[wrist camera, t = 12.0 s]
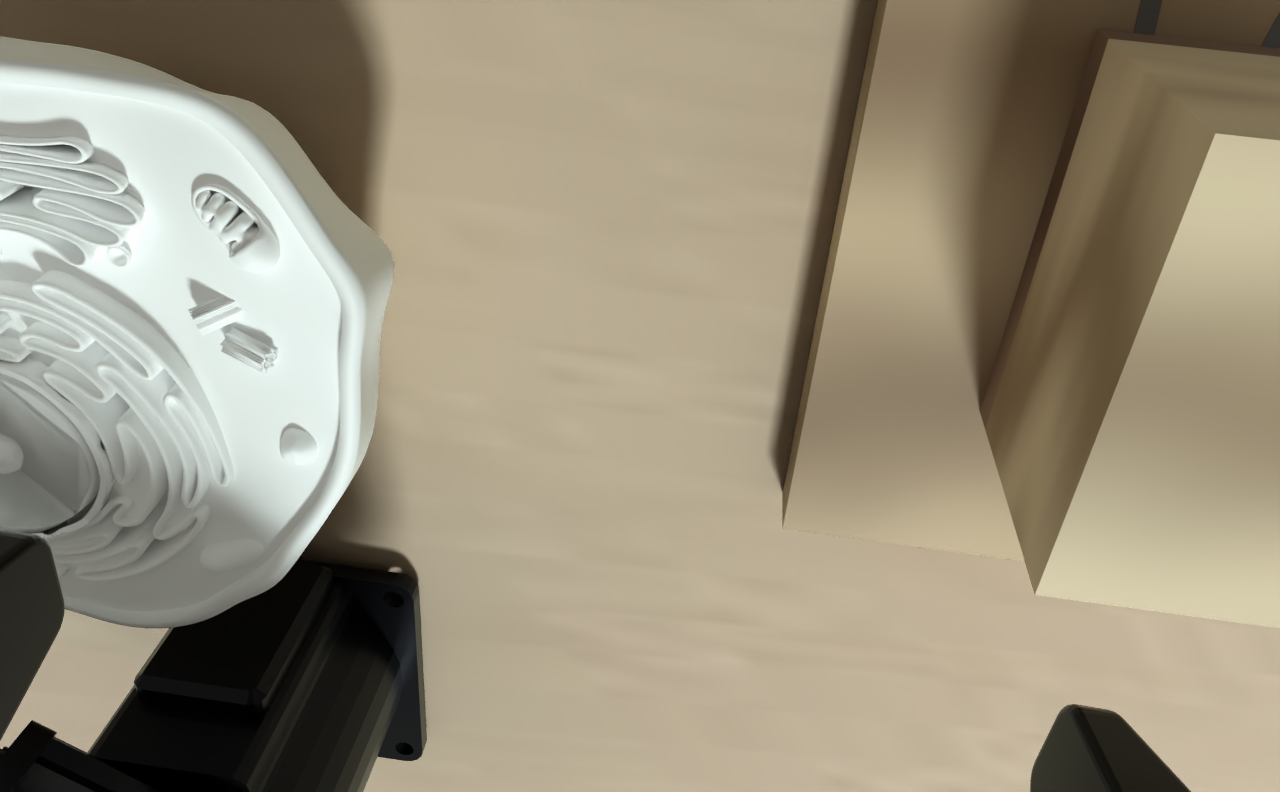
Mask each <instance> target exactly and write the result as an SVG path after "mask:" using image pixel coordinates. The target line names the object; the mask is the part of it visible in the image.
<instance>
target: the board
mask: <svg viewBox="0 0 1280 792" xmlns="http://www.w3.org/2000/svg"><path fill="white" fill-rule="evenodd" d="M1098 29H1101V30H1111V31H1120V32H1130V33H1139V34H1149V35H1158V36H1167V37H1177V38H1186V39H1196V40H1205V41H1215V42H1224V43H1234V44H1243V45H1253V46H1262V47H1271V48H1280V0H878V2H877V7H876V12H875V17H874V22H873V28H872V33H871V38H870V43H869V48H868V54H867V59H866V64H865V69H864V74H863V79H862V85H861V90H860V95H859V100H858V105H857V111H856V116H855V121H854V126H853V131H852V136H851V142H850V147H849V152H848V157H847V162H846V168H845V173H844V178H843V183H842V188H841V193H840V199H839V204H838V209H837V214H836V219H835V225H834V230H833V235H832V240H831V245H830V250H829V256H828V261H827V266H826V271H825V276H824V281H823V287H822V292H821V297H820V302H819V307H818V313H817V318H816V323H815V328H814V333H813V338H812V344H811V349H810V354H809V359H808V364H807V370H806V375H805V380H804V385H803V390H802V395H801V401H800V406H799V411H798V416H797V421H796V427H795V432H794V437H793V442H792V447H791V452H790V458H789V463H788V468H787V473H786V478H785V484H784V489H783V529H787V530H795V531H802V532H810V533H817V534H824V535H832V536H839V537H847V538H854V539H862V540H869V541H876V542H884V543H891V544H899V545H906V546H914V547H921V548H928V549H936V550H943V551H951V552H958V553H966V554H973V555H980V556H988V557H995V558H1003V559H1010V560H1018V561H1025V560H1024V557H1023V554H1022V550H1021V547H1020V544H1019V540H1018V537H1017V534H1016V531H1015V527H1014V524H1013V521H1012V517H1011V514H1010V511H1009V507H1008V504H1007V501H1006V497H1005V494H1004V491H1003V487H1002V484H1001V481H1000V477H999V474H998V471H997V467H996V464H995V461H994V457H993V454H992V451H991V447H990V444H989V441H988V437H987V434H986V431H985V427H984V424H983V421H982V417H981V414H980V408H981V405H982V402H983V398H984V395H985V392H986V389H987V385H988V382H989V379H990V376H991V373H992V369H993V366H994V363H995V360H996V356H997V353H998V350H999V347H1000V344H1001V340H1002V337H1003V334H1004V331H1005V327H1006V324H1007V321H1008V318H1009V315H1010V311H1011V308H1012V305H1013V302H1014V298H1015V295H1016V292H1017V289H1018V286H1019V282H1020V279H1021V276H1022V273H1023V269H1024V266H1025V263H1026V260H1027V256H1028V253H1029V250H1030V247H1031V244H1032V240H1033V237H1034V234H1035V231H1036V227H1037V224H1038V221H1039V218H1040V215H1041V211H1042V208H1043V205H1044V202H1045V198H1046V195H1047V192H1048V189H1049V186H1050V182H1051V179H1052V176H1053V173H1054V169H1055V166H1056V163H1057V160H1058V157H1059V153H1060V150H1061V147H1062V144H1063V140H1064V137H1065V134H1066V131H1067V127H1068V124H1069V121H1070V118H1071V115H1072V111H1073V108H1074V105H1075V102H1076V98H1077V95H1078V92H1079V89H1080V86H1081V82H1082V79H1083V76H1084V73H1085V69H1086V66H1087V63H1088V60H1089V57H1090V53H1091V50H1092V47H1093V44H1094V40H1095V37H1096V34H1097V31H1098Z"/></svg>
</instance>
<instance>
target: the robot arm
mask: <svg viewBox="0 0 1280 792" xmlns="http://www.w3.org/2000/svg"><path fill="white" fill-rule="evenodd" d="M392 592H395V593H398V594H399V595H401V596H397V595H394V594H393V593H392ZM63 617H64V598H63V594H62V590H61V586H60V582H59V578H58V574H57V570H56V566H55V562H54V558H53V554H52V550H51V547H50V545H49V543H48V542H47V541H46V540H45V539H44V538H43V537H41V536H39V535H35V534H28V533H22V532H16V531H10V530H0V740H1V739H2V737H3V735H4V733H5V731H6V729H7V727H8V725H9V724H10V722H11V720H12V718H13V716H14V714H15V712H16V711H17V709H18V707H19V705H20V703H21V701H22V699H23V697H24V696H25V694H26V692H27V690H28V688H29V686H30V684H31V682H32V681H33V679H34V677H35V675H36V673H37V671H38V669H39V668H40V666H41V664H42V662H43V660H44V658H45V656H46V654H47V653H48V651H49V649H50V647H51V645H52V643H53V641H54V639H55V638H56V636H57V634H58V632H59V630H60V627H61V624H62V621H63ZM134 684H135V685H134V686H133V688H132V689H131V690H130V692H129V693H128V695H127V696H126V698H125V699H124V701H123V702H122V703H121V705H120V706H119V708H118V709H117V711H116V712H115V714H114V715H113V716H112V718H111V719H110V721H109V722H108V724H107V725H106V727H105V728H104V729H103V731H102V732H101V734H100V735H99V737H98V738H97V740H96V741H95V742H94V744H93V745H92V747H91V748H90V750H89V751H88V753H86V752H84V751H82V750H80V749H78V748H76V747H74V746H72V745H70V744H68V743H66V742H64V741H62V740H60V739H58V738H56V737H55V735H56V733H57V732H55V731H53V730H51V729H49V728H47V727H45V726H43V725H41V724H39V723H37V722H35V721H33V720H32V721H31V722H30V723H29V724H28V725H27V727H26V728H25V729H24V730H23V731H22V733H21V734H20V735H19V736H18V737H17V739H16V740H15V741H14V742H13V743H12V745H11V746H10V747H9V748H8V747H6V746H5V747H4V748H3V749H0V792H363V791H364V788H365V786H366V783H367V781H368V778H369V776H370V773H371V771H372V768H373V766H374V763H375V761H376V758H377V757H384V758H390V759H397V760H404V761H413V760H417V759H418V758H420V757H421V755H422V753H423V750H424V747H425V744H426V740H427V734H426V716H425V697H424V678H423V660H422V641H421V622H420V604H419V590H418V587H417V585H416V583H415V582H414V581H413V580H412V579H411V578H409V577H407V576H406V575H403V574H399V573H394V572H386V571H379V570H372V569H365V568H358V567H351V566H344V565H336V564H329V563H322V562H315V561H308V560H301V559H297V561H296V562H295V563H294V565H293V566H292V567H291V569H290V570H289V571H288V572H287V574H286V575H285V576H284V577H283V578H282V579H281V580H280V581H279V582H278V583H277V584H276V585H275V586H273V587H272V588H270V589H269V590H267V591H265V592H263V593H261V594H259V595H257V596H254V597H252V598H249V599H247V600H244V601H242V602H240V603H238V604H236V605H234V606H232V607H231V608H229V609H227V610H225V611H224V612H222V613H220V614H218V615H216V616H214V617H212V618H209V619H207V620H204V621H201V622H198V623H194V624H190V625H185V626H179V627H171V628H169V630H168V631H167V633H166V634H165V635H164V637H163V638H162V640H161V641H160V643H159V644H158V645H157V647H156V648H155V650H154V651H153V653H152V654H151V655H150V657H149V658H148V660H147V661H146V663H145V664H144V666H143V667H142V668H141V670H140V671H139V673H138V674H137V676H136V678H135V681H134ZM1030 791H1031V792H1191V791H1190V790H1189V789H1188V788H1187V787H1186V786H1185V784H1184V783H1183V782H1182V781H1181V780H1180V779H1179V778H1178V777H1177V776H1176V775H1175V774H1174V773H1173V772H1172V770H1171V769H1170V768H1169V767H1168V766H1167V765H1166V764H1165V763H1164V762H1163V761H1162V760H1161V759H1160V758H1159V756H1158V755H1157V754H1156V753H1155V752H1154V751H1153V750H1152V749H1151V748H1150V747H1149V746H1148V745H1147V744H1146V742H1145V741H1144V740H1143V739H1142V738H1141V737H1140V736H1139V735H1138V734H1137V733H1136V732H1135V731H1134V730H1133V728H1132V727H1131V726H1130V725H1129V724H1128V723H1127V722H1126V721H1125V720H1124V719H1123V718H1122V717H1121V716H1120V715H1118V714H1117V713H1115V712H1113V711H1110V710H1106V709H1100V708H1094V707H1088V706H1082V705H1076V704H1072V705H1067V706H1065V707H1064V708H1063V709H1062V710H1061V711H1060V713H1059V714H1058V716H1057V718H1056V720H1055V722H1054V724H1053V726H1052V728H1051V730H1050V732H1049V734H1048V736H1047V738H1046V740H1045V742H1044V744H1043V746H1042V748H1041V750H1040V752H1039V755H1038V757H1037V759H1036V761H1035V763H1034V766H1033V770H1032V774H1031V785H1030Z"/></svg>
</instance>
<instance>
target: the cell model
mask: <svg viewBox="0 0 1280 792" xmlns="http://www.w3.org/2000/svg"><path fill="white" fill-rule="evenodd" d="M393 278H394V262H393V258H392V255H391V252H390V249H389V248H388V247H387V246H386V244H385V243H384V242H383V241H382V239H381V238H380V237H379V236H378V234H376V233H375V232H374V231H373V230H372V229H371V228H370V227H369V226H367V225H366V224H365V223H364V222H363V221H362V220H361V219H360V218H358V217H357V216H356V215H355V214H354V213H353V212H352V211H351V210H350V209H349V208H348V207H347V206H346V205H345V204H344V203H343V202H342V201H341V200H340V199H339V198H338V197H337V196H336V194H335V193H334V192H333V191H332V189H331V188H330V187H329V186H328V184H327V183H326V182H325V180H324V179H323V178H322V176H321V175H320V173H319V172H318V171H317V169H316V168H315V167H314V165H313V164H312V162H311V161H310V160H309V158H308V157H307V155H306V154H305V152H304V151H303V150H302V148H301V147H300V146H299V144H298V143H297V142H296V140H295V139H294V137H293V136H292V135H291V134H290V133H289V132H288V130H287V129H286V128H285V127H284V126H283V124H281V123H280V122H279V121H278V120H277V119H276V118H275V117H274V116H273V115H272V114H271V113H269V112H268V111H266V110H264V109H263V108H261V107H260V106H258V105H256V104H255V103H253V102H250V101H247V100H244V99H241V98H237V97H234V96H229V95H222V94H217V93H213V92H210V91H207V90H204V89H201V88H199V87H196V86H194V85H192V84H189V83H187V82H185V81H183V80H180V79H178V78H176V77H174V76H172V75H169V74H167V73H165V72H163V71H160V70H158V69H155V68H153V67H150V66H148V65H145V64H142V63H139V62H136V61H133V60H130V59H127V58H123V57H119V56H116V55H111V54H108V53H104V52H100V51H96V50H91V49H86V48H81V47H75V46H69V45H62V44H53V43H44V42H36V41H28V40H22V39H16V38H10V37H3V36H0V530H10V531H16V532H22V533H28V534H35V535H39V536H41V537H43V538H44V539H45V540H46V541H47V542H48V543H49V545H50V547H51V550H52V554H53V558H54V562H55V566H56V570H57V574H58V578H59V582H60V586H61V590H62V594H63V598H64V609H66V610H70V611H73V612H77V613H80V614H83V615H87V616H90V617H93V618H96V619H100V620H103V621H107V622H111V623H115V624H119V625H124V626H131V627H140V628H171V627H179V626H185V625H190V624H194V623H198V622H201V621H204V620H207V619H209V618H212V617H214V616H216V615H218V614H220V613H222V612H224V611H225V610H227V609H229V608H231V607H232V606H234V605H236V604H238V603H240V602H242V601H244V600H247V599H249V598H252V597H254V596H257V595H259V594H261V593H263V592H265V591H267V590H269V589H270V588H272V587H273V586H275V585H276V584H277V583H278V582H279V581H280V580H281V579H282V578H283V577H284V576H285V575H286V574H287V572H288V571H289V570H290V569H291V567H292V566H293V565H294V563H295V562H296V561H297V559H298V558H299V557H300V555H301V554H302V552H303V551H304V550H305V548H306V547H307V546H308V544H309V543H310V542H311V540H312V539H313V537H314V536H315V535H316V533H317V532H318V531H319V529H320V528H321V526H322V525H323V524H324V522H325V521H326V519H327V518H328V516H329V514H330V513H331V511H332V510H333V508H334V507H335V505H336V504H337V502H338V501H339V499H340V498H341V496H342V495H343V493H344V492H345V490H346V489H347V487H348V485H349V484H350V482H351V480H352V479H353V477H354V475H355V474H356V472H357V470H358V469H359V467H360V465H361V463H362V461H363V459H364V457H365V454H366V452H367V449H368V446H369V443H370V440H371V437H372V434H373V429H374V425H375V418H376V411H377V403H378V388H379V369H380V345H381V332H382V325H383V318H384V312H385V308H386V304H387V300H388V297H389V294H390V291H391V287H392V283H393Z"/></svg>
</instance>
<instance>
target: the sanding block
mask: <svg viewBox="0 0 1280 792" xmlns="http://www.w3.org/2000/svg"><path fill="white" fill-rule="evenodd" d="M980 414H981V417H982V421H983V424H984V427H985V431H986V434H987V437H988V441H989V444H990V447H991V451H992V454H993V457H994V461H995V464H996V467H997V471H998V474H999V477H1000V481H1001V484H1002V487H1003V491H1004V494H1005V497H1006V501H1007V504H1008V507H1009V511H1010V514H1011V517H1012V521H1013V524H1014V527H1015V531H1016V534H1017V537H1018V540H1019V544H1020V547H1021V550H1022V554H1023V557H1024V560H1025V564H1026V567H1027V570H1028V574H1029V577H1030V580H1031V584H1032V587H1033V590H1034V594H1035V595H1039V596H1046V597H1054V598H1061V599H1068V600H1076V601H1083V602H1090V603H1098V604H1105V605H1112V606H1120V607H1127V608H1134V609H1142V610H1149V611H1156V612H1164V613H1171V614H1178V615H1186V616H1193V617H1201V618H1208V619H1215V620H1223V621H1230V622H1237V623H1245V624H1252V625H1259V626H1267V627H1274V628H1280V48H1271V47H1262V46H1253V45H1243V44H1234V43H1224V42H1215V41H1205V40H1196V39H1186V38H1177V37H1167V36H1158V35H1149V34H1139V33H1130V32H1120V31H1111V30H1101V29H1098V31H1097V34H1096V37H1095V40H1094V44H1093V47H1092V50H1091V53H1090V57H1089V60H1088V63H1087V66H1086V69H1085V73H1084V76H1083V79H1082V82H1081V86H1080V89H1079V92H1078V95H1077V98H1076V102H1075V105H1074V108H1073V111H1072V115H1071V118H1070V121H1069V124H1068V127H1067V131H1066V134H1065V137H1064V140H1063V144H1062V147H1061V150H1060V153H1059V157H1058V160H1057V163H1056V166H1055V169H1054V173H1053V176H1052V179H1051V182H1050V186H1049V189H1048V192H1047V195H1046V198H1045V202H1044V205H1043V208H1042V211H1041V215H1040V218H1039V221H1038V224H1037V227H1036V231H1035V234H1034V237H1033V240H1032V244H1031V247H1030V250H1029V253H1028V256H1027V260H1026V263H1025V266H1024V269H1023V273H1022V276H1021V279H1020V282H1019V286H1018V289H1017V292H1016V295H1015V298H1014V302H1013V305H1012V308H1011V311H1010V315H1009V318H1008V321H1007V324H1006V327H1005V331H1004V334H1003V337H1002V340H1001V344H1000V347H999V350H998V353H997V356H996V360H995V363H994V366H993V369H992V373H991V376H990V379H989V382H988V385H987V389H986V392H985V395H984V398H983V402H982V405H981V408H980Z"/></svg>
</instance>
